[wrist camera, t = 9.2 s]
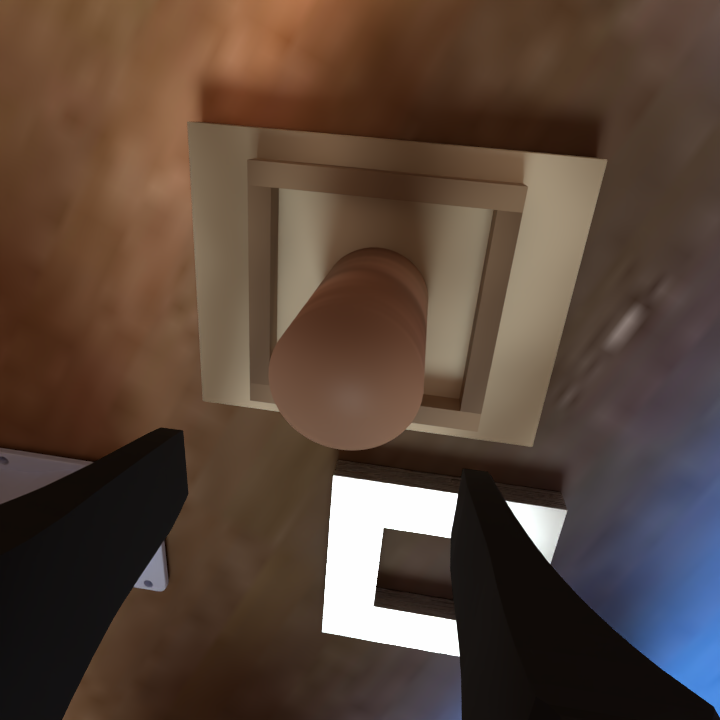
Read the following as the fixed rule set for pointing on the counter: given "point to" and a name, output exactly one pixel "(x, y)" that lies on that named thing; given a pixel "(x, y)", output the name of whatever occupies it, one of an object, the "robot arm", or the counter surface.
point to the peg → (355, 353)
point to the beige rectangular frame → (400, 234)
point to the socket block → (415, 514)
